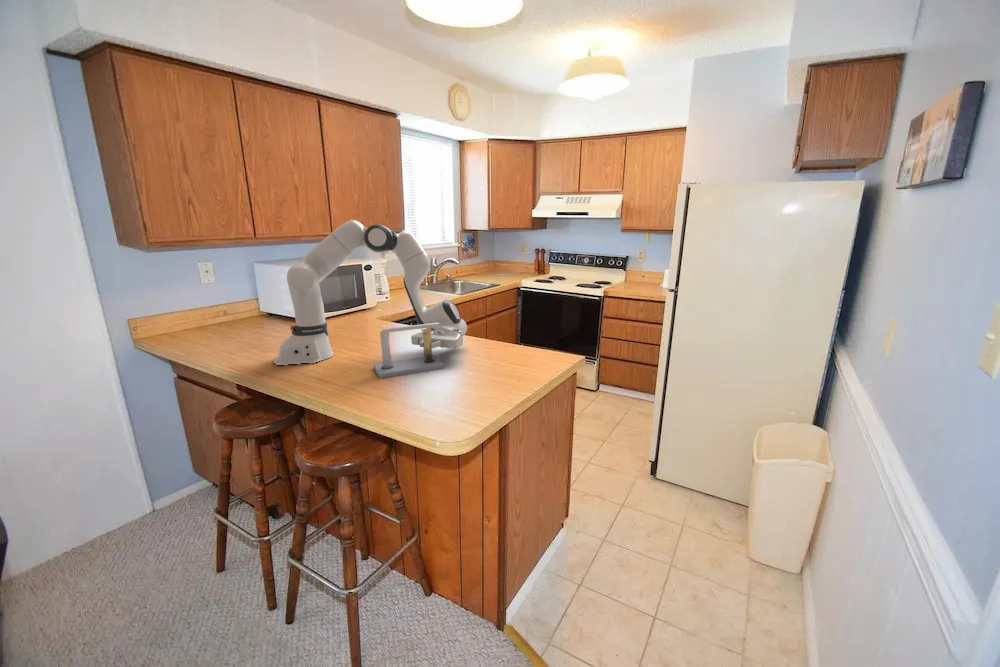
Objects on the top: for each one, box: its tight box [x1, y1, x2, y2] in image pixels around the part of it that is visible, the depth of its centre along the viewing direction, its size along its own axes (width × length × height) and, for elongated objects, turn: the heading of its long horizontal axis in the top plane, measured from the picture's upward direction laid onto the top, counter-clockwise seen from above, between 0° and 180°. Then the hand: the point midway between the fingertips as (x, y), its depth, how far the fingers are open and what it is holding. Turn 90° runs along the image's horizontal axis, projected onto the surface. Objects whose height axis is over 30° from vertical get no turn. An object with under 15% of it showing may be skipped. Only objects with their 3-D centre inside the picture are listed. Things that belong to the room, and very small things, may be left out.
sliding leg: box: [420, 328, 433, 360], centre depth 163 cm, size 3×3×12 cm
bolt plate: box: [373, 323, 445, 379], centre depth 160 cm, size 24×12×16 cm, turn 114°
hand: (426, 345), depth 162 cm, fingers closed on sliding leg, 3 cm apart
